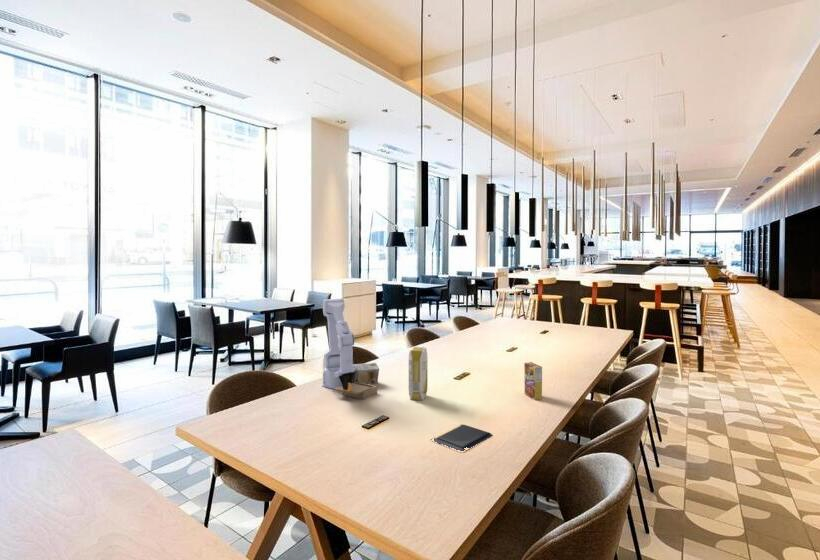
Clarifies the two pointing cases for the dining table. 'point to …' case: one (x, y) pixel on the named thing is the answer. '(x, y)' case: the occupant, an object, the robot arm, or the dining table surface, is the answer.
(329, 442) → the dining table surface
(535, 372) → the candy box
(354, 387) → the lid
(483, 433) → the wallet
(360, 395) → the carton
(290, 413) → the dining table surface
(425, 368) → the juice carton
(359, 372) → the coffee box
